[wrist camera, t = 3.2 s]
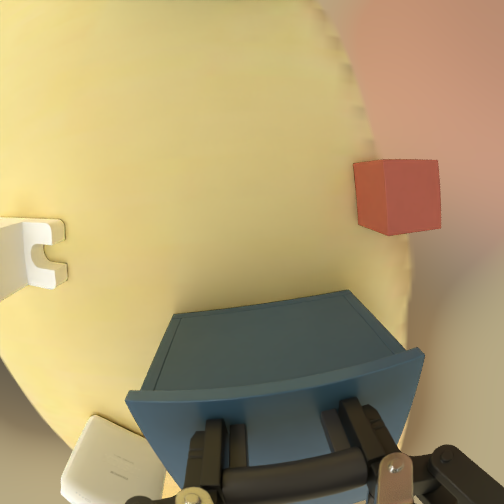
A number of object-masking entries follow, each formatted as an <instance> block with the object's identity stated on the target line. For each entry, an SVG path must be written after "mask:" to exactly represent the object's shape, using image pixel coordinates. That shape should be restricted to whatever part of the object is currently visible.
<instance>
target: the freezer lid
mask: <svg viewBox="0 0 504 504" xmlns="http://www.w3.org/2000/svg"><path fill="white" fill-rule="evenodd" d="M424 358H425V355H424V353H423V352H422V351H421V350H420V349H419V348H418V347H416V348H413V349H410V350H407V351H404V352H401V353H397V354H394V355H391V356H388V357H384V358H381V359H378V360H374V361H370V362H367V363H363V364H359V365H355V366H351V367H347V368H343V369H339V370H335V371H330V372H326V373H321V374H316V375H311V376H306V377H300V378H295V379H289V380H283V381H276V382H270V383H262V384H255V385H246V386H237V387H227V388H215V389H199V390H174V391H138V390H130V391H129V392H128V394H127V396H126V398H125V402H126V404H127V406H128V408H129V410H130V412H131V414H132V415H133V417H134V419H135V421H136V423H137V424H138V426H139V428H140V429H141V431H142V433H143V434H144V436H145V438H146V439H147V441H148V443H149V444H150V446H151V447H152V449H153V450H154V452H155V453H156V455H157V456H158V458H159V459H160V461H161V462H162V464H163V465H164V467H165V468H166V470H167V471H168V472H169V474H170V475H171V476H172V478H173V479H174V481H175V482H176V483H177V484H178V486H179V487H180V488H181V490H182V488H183V486H184V482H185V474H186V467H187V459H188V452H189V445H190V439H191V438H192V436H193V435H194V433H195V432H196V431H205V425H206V420H208V419H224V421H225V424H226V428H227V431H228V434H229V468H224V470H223V472H222V492H223V498H224V502H225V504H353V503H356V502H359V501H363V500H366V498H367V491H368V487H367V484H366V483H367V480H368V469H367V464H366V460H365V457H364V455H363V453H362V451H361V449H360V448H359V447H352V448H351V445H350V443H349V440H348V438H347V435H346V433H345V430H344V428H343V425H342V423H341V421H340V418H339V416H338V409H339V401H340V400H344V399H348V398H352V397H357V398H358V400H359V402H360V404H361V406H363V405H367V404H369V405H371V406H372V407H374V408H375V409H376V410H377V411H378V413H379V415H380V416H381V419H382V420H383V422H384V424H385V426H386V427H387V429H388V431H389V433H390V434H391V436H392V438H393V440H394V442H395V443H396V445H397V444H398V441H399V439H400V436H401V434H402V431H403V428H404V426H405V423H406V420H407V417H408V414H409V411H410V408H411V405H412V402H413V399H414V396H415V392H416V389H417V385H418V381H419V378H420V374H421V371H422V366H423V362H424Z"/></svg>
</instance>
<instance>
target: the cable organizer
mask: <svg viewBox="0 0 504 504" xmlns="http://www.w3.org/2000/svg"><path fill="white" fill-rule="evenodd" d="M64 240H65V227H64V223H63V222H62V221H61V220H59V219H37V218H10V217H0V302H1V301H2V300H4V299H6V298H7V297H9V296H10V295H12V294H14V293H15V292H17V291H19V290H20V289H22V288H24V287H25V286H27V285H32V286H37V287H42V288H47V289H54V288H56V287H57V286H59V285H60V284H62V283H64V282H65V281H66V280H67V278H68V274H67V264H64V263H57V262H51V261H49V260H48V259H47V258H46V256H45V254H44V250H43V249H44V244H45V245H54V244H56V243H59V242H61V241H64Z"/></svg>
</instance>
